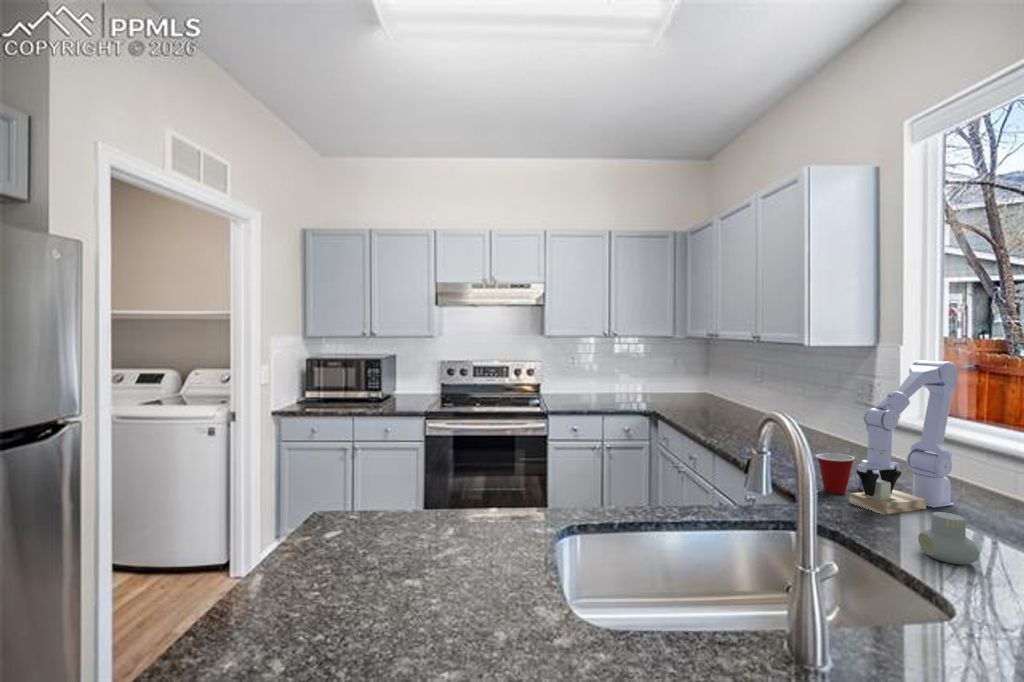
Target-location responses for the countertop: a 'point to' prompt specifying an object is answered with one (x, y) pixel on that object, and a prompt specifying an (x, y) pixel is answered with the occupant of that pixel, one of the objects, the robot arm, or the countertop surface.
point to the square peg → (881, 491)
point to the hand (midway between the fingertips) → (878, 494)
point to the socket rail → (889, 502)
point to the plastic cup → (835, 471)
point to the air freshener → (948, 540)
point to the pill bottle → (860, 479)
